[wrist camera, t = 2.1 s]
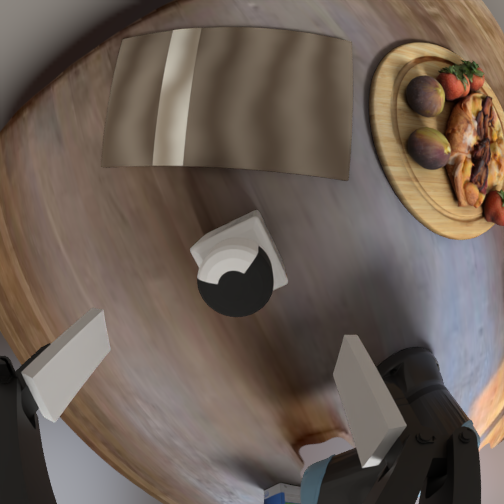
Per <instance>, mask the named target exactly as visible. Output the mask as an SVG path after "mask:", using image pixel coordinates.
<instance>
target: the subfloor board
mask: <svg viewBox="0 0 504 504" xmlns="http://www.w3.org/2000/svg"><path fill="white" fill-rule="evenodd" d="M352 112H353V62H352V42H350V41H346V40H342V39H337V38H333V37H328V36H323V35H317V34H311V33H304V32H297V31H289V30H280V29H268V28H251V27H212V28H189V29H178V30H173V31H165V32H158V33H152V34H146V35H140V36H135V37H130V38H126V39H123V40H122V44H121V47H120V51H119V55H118V59H117V63H116V67H115V72H114V76H113V81H112V86H111V91H110V96H109V102H108V108H107V115H106V122H105V130H104V138H103V148H102V160H101V167H133V166H184V167H214V168H232V169H247V170H260V171H271V172H282V173H291V174H300V175H308V176H316V177H324V178H331V179H338V180H344V181H348V179H349V168H350V154H351V137H352Z"/></svg>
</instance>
